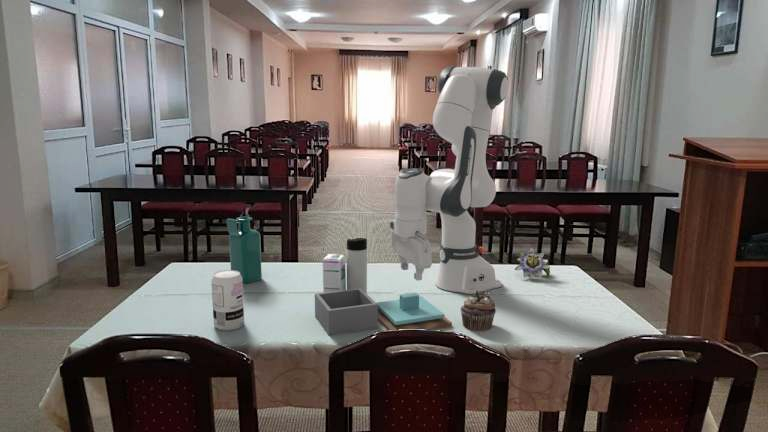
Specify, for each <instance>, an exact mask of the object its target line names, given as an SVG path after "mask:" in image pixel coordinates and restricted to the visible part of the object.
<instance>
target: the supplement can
mask: <svg viewBox="0 0 768 432" xmlns="http://www.w3.org/2000/svg"><path fill="white" fill-rule="evenodd" d="M211 296H212V297H211V298H212V316H213V327H215V328H216V329H217V330H220V331H232V330H233V331H234V330H237V329H240V328H241V327H242V326H243V325H244V324H245V309H244V307H245V306H244V283H243V282H242V276H241V275H240V272H238V271H235V270H231V269H225V270H220V271H216V272H214V273H213V276H212V277H211Z"/></svg>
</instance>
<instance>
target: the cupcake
mask: <svg viewBox="0 0 768 432" xmlns="http://www.w3.org/2000/svg"><path fill="white" fill-rule="evenodd" d="M496 312H497V311H496V303H495V302H494V300H493V299H492V298H491V294H490V292H489V291H481V293H480V292H478V291H476V292H474V293H472V294H471V295H470V296H468V297H467V298H465V299H464V300H463V305H462V306H461V307H460V314H461V320H462V326H463V328H464V329H466V330H469V331H473V332H485V331H489V330H490V329H491V328H492V326H493V322H494V318H495V315H496Z"/></svg>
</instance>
